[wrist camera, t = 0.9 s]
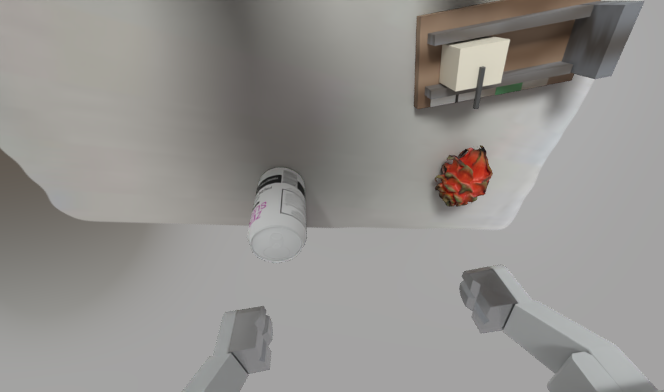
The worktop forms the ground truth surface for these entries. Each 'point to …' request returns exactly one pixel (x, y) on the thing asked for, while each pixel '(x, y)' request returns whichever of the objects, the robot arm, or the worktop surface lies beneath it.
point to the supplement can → (278, 216)
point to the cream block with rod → (473, 64)
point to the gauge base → (526, 43)
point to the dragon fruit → (464, 177)
